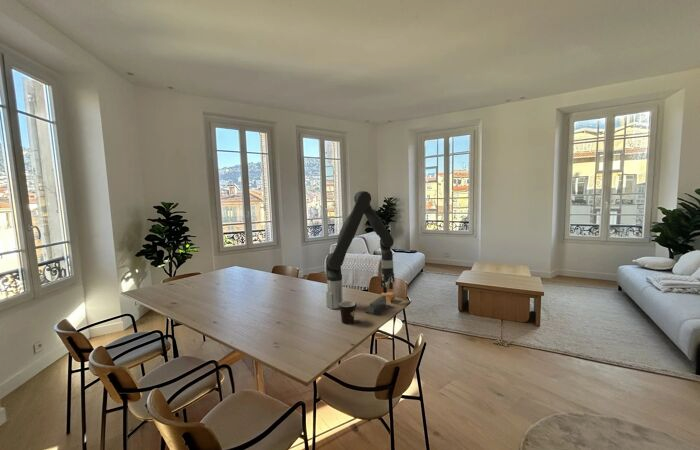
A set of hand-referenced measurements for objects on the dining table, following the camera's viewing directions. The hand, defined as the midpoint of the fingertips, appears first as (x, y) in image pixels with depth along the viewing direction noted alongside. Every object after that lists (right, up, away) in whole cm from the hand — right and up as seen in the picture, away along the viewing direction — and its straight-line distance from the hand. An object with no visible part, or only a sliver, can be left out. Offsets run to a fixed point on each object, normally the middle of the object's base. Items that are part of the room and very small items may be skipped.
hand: (388, 291), depth 197 cm
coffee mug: (-25, -10, -30) cm, 40 cm away
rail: (-8, -8, -15) cm, 18 cm away
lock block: (0, -7, +1) cm, 7 cm away
